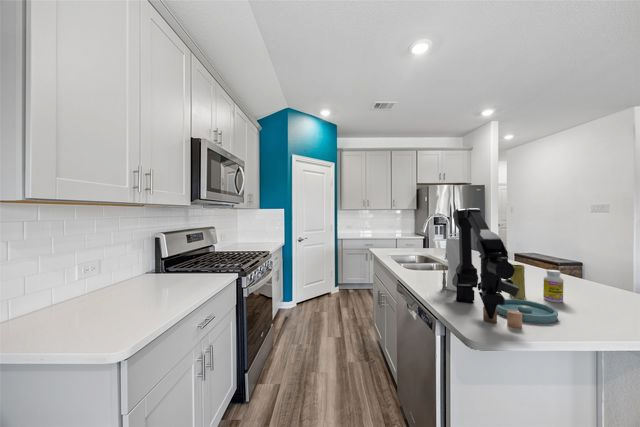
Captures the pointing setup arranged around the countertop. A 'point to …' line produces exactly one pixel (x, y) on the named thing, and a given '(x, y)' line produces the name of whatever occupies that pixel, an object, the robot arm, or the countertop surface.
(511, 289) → the robot arm
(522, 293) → the vase
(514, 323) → the bead terracotta
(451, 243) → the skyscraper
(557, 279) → the supplement bottle
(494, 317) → the bead walnut
